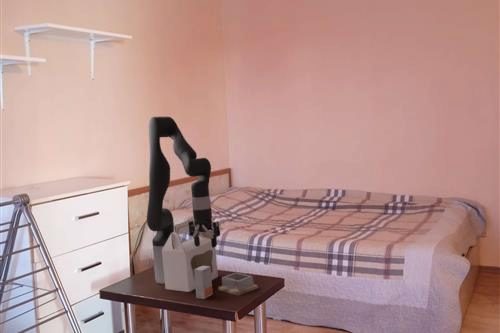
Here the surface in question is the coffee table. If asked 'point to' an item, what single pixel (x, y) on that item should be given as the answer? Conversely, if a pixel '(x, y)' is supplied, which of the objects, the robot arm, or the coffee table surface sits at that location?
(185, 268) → the gable box
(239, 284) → the duct collar
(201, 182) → the robot arm
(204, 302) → the coffee table surface
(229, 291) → the birch board
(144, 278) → the coffee table surface
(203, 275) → the skincare box
